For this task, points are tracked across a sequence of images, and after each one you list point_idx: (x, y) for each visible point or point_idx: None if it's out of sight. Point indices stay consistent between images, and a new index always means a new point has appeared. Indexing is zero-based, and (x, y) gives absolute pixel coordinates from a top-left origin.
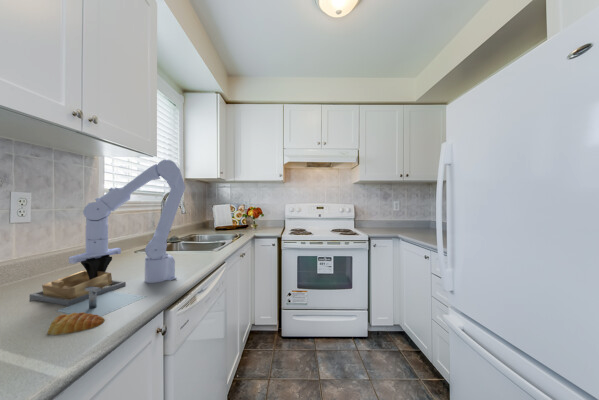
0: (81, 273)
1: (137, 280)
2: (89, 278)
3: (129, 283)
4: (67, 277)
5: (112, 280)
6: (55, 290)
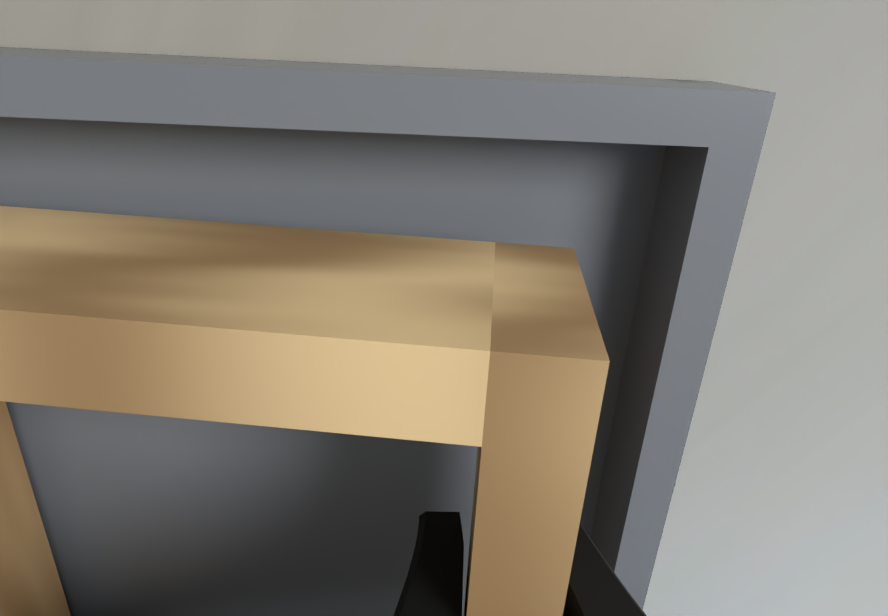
0: (410, 416)
1: (872, 587)
2: (415, 547)
3: (752, 591)
4: (77, 404)
5: None
6: None
